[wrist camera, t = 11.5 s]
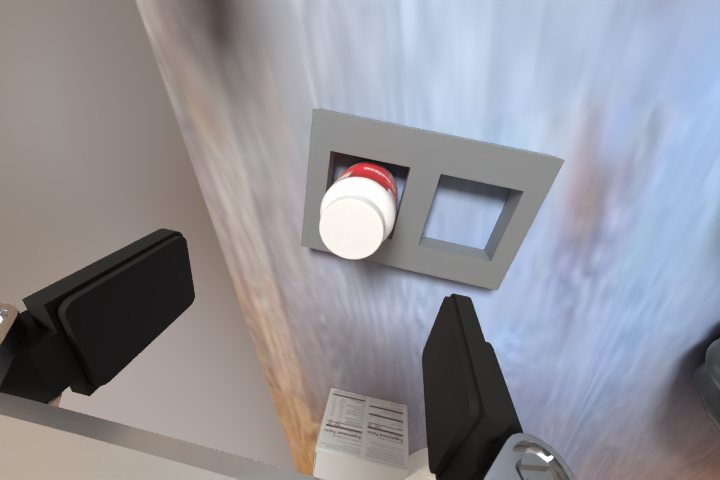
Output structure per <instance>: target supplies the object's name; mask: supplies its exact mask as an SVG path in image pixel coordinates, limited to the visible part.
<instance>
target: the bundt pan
mask: <svg viewBox="0 0 720 480" xmlns="http://www.w3.org/2000/svg"><path fill="white" fill-rule="evenodd" d="M694 383H695V386H696V388H697V390H698V391H699V393H700V395H701V400H702V404H703V407H704V409H705V411H706V413H707V414H708V416H709V418H710V419H711V420H712V422H713V423H714V424H715V426H716V427H717V428H718V430H719V431H720V338H719V339H717V340H715V341H714V342H713V343H712V344H711V345H710V346H709V347H708V349H707V351H706V355H705V362H704V363H702V364H701V365H699V366H698V367H697V369H696V370H695V373H694Z"/></svg>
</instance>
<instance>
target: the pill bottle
mask: <svg viewBox="0 0 720 480" xmlns="http://www.w3.org/2000/svg"><path fill="white" fill-rule="evenodd" d="M396 202H397V186H396V182H395V179H394V177H393V176H392V174H391V173H390V171H389V170H388V169H387V168H385V167H384V166H382V165H381V164H378V163H376V162H371V161H364V162H359V163H356V164H354V165H352V166H351V167H350V168H348V169H347V170H346V171H345V172H344V173H343V174H342V175H341V176H340V177H339V178H338V180H337V181H336V182H335V183H334V184H333V185H332V186H331V187H330V188H329V190H328V191H327V192H326V194H325V195H324V197H323V200H322V203H321V208H320V217H321V219H320V224H319V230H320V235H321V238H322V241H323V242H324V244H325V245H326V247H327V248H328V249H329V250H330V251H332V252H333V253H334V254H336V255H338V256H340V257H343V258H346V259H362V258H365V257H367V256H369V255H371V254H373V253H374V252H375V251H376V250H377V249H378V248H379V246H380V244H381V243H382V242H383V241H384V240H385V239H386V238H387V237H388V236H389V234H390V233H391V231H392V229H393V226H394V222H395V215H396Z"/></svg>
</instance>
